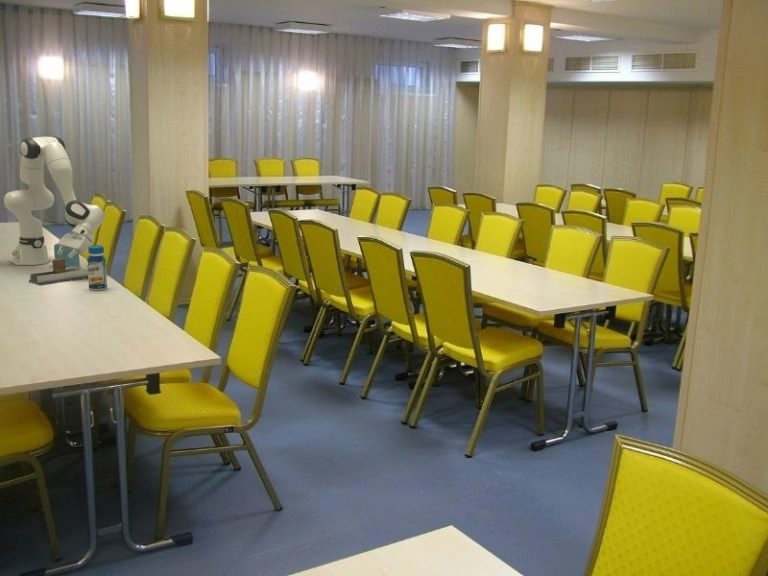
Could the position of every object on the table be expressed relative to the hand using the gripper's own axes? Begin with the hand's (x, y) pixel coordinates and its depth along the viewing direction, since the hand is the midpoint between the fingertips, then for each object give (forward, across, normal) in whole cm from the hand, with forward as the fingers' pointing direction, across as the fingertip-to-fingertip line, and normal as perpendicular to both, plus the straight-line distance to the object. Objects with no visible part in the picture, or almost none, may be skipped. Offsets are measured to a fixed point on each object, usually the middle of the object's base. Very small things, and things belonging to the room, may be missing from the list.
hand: (63, 255), depth 403 cm
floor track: (+10, 0, +6) cm, 12 cm away
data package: (-4, -28, +20) cm, 35 cm away
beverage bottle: (+8, +30, +8) cm, 32 cm away
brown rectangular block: (+9, 0, +5) cm, 11 cm away
